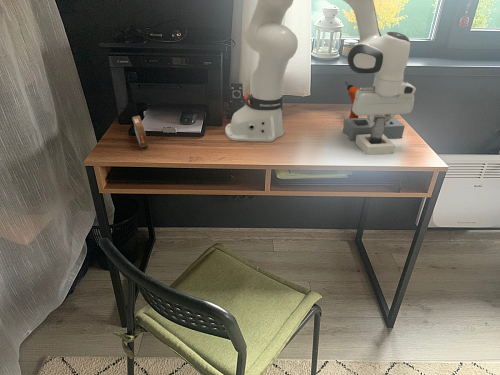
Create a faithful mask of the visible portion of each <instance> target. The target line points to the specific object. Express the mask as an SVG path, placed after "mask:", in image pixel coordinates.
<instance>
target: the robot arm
mask: <svg viewBox="0 0 500 375" xmlns="http://www.w3.org/2000/svg"><path fill="white" fill-rule="evenodd" d="M342 1H343V2H345V3H346V4H348V5H349V7H350V8H351V9H352V10H353V13H354V16H355V21H356V25H357V30H358V35H359V41H358V43H356V44H355V45H353V47H352V48H351V49H350V51H349V52H348V55H347V65H348V67H349V68H350V70H351V71H353V73H354V72H355V73H357V74H365V75H366V74H374V78H373V84H372V86H361V87H359V88H358V90H357V91H356V94H355V100H354V103H352V106H353V107H352V106H351V109H352V111H353V112H354V114H356V115H357V116H358V117H359V116H360V117H361V116H366V118H368V120H369V123H368V126H369V127H374V124H375V122H374V121H373V120H372V118H373V117H374V115H386V114H388V115H389V116H388V117H387V119H386V120H385V125H384V126H389V123H390V121H391V120H392V119H393V118H394V117H395V115H405V114H406V115H407V114H410V113H411V112H412V111H413V108H414V103H415V93H416V91H417V89H416V86H413V85H412V84H411V83H409V82H407V81H404V80H405V79H404V78H405V76H404V75H405V74H404V73H405V69H406V68H407V65H408V61H409V56H410V51H411V50H410V49H411V40H410V39H409V37H408V36H406V35H405V34H404V33H403V34H402V33H400V32H395V31H387V32H386V33H383V35H382V34H381V32H380V27H379V24H378V23H379V22H378V18H377V12H376V7H375V3H374V2H375V1H374V0H342ZM293 2H294V0H257V3H256V6H255V9H254V12H253V13H252V17H251V19H250V21H249V22H248V23H247V25H246V26H245V29H244V32H243V35H244V40H245V42H246V44H247V45H248V46H249V48H251V50H253V51H255V52H256V53H258V55H259V56H258V57H259V58H258V62H257V66H256V69H255V70H253V73H252V76H251V77H252V78H251V79H252V80H251V94H248V93H247V92H246V93H244V94H243V98H244V100H245V102H246V103H245V105H244V106H242V107H241V108H239V109H238V110H236V111H235V112H234V113H233V115H232V117H231V121H230V123H228V124H226V126H225V130H224V133H225V135H226V137H227V138H228V139H229V140H232V141H239V142H240V141H241V142H244V141H245V142H266V143H267V142H269V143H271V142H274V141H275V140H276V139H277V138H280V137H282V136H283V135H284V134H285V129H284V125H283V108H284V95H283V92H284V91H283V89H284V88H283V87H284V77H285V73H286V70H287V66H288V64H289V61H290V59H292V58H293V57H294V56H295V55H296V52H297V50H298V47H299V46H298V45H299V44H298V43H299V40H298V37H297V35H296V34H295V33H294V32H293V31H292V30H291V29H290V28H289V27H287V26H286V25H284V24H282V22H283V20H284V17H285V15H286V13H287V11H288V10H289V8H291V6H292V5H293V4H294V3H293Z"/></svg>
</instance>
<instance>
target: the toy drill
mask: <svg viewBox="0 0 500 375" xmlns="http://www.w3.org/2000/svg"><path fill="white" fill-rule="evenodd" d="M344 83H345V85H346V86H347V88H346V90H347V91H348V96H349V97H350V101H351V103H352V104H353V103H354V100H355V94H356V91H357V90H358V89H359V88H358V87H356V86H354V85H353V84H350V83H349V82H348V81H347V80H345V81H344ZM352 107H353V105H352V106H351V109H350V114H349V118H359V116H357V115H356V114H354V112H353V111H352Z"/></svg>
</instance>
